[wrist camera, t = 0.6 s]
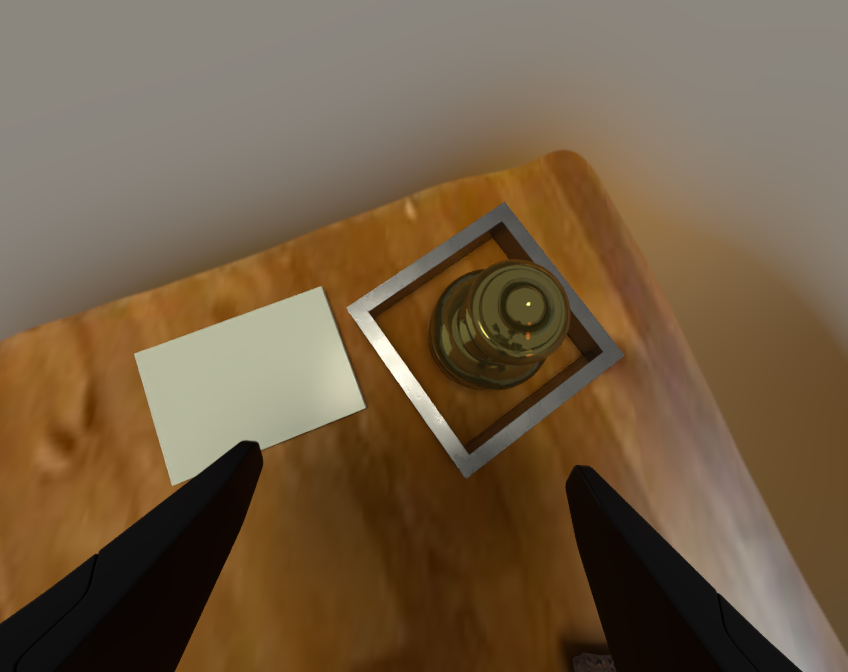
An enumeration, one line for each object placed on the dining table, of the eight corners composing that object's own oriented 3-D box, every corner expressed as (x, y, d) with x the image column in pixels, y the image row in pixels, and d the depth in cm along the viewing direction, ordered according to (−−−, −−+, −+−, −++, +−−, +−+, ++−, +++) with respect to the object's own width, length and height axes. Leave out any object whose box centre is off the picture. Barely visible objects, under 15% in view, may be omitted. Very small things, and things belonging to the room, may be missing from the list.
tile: (324, 289, 24) (321, 286, 23) (367, 407, 23) (365, 408, 22) (143, 354, 23) (134, 353, 22) (180, 482, 22) (172, 485, 21)
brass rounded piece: (426, 388, 23) (439, 392, 13) (428, 286, 24) (441, 220, 14) (530, 390, 24) (616, 395, 14) (527, 288, 25) (605, 225, 15)
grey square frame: (602, 358, 24) (624, 355, 22) (459, 468, 23) (465, 478, 20) (495, 219, 25) (504, 201, 23) (352, 315, 24) (346, 307, 21)
